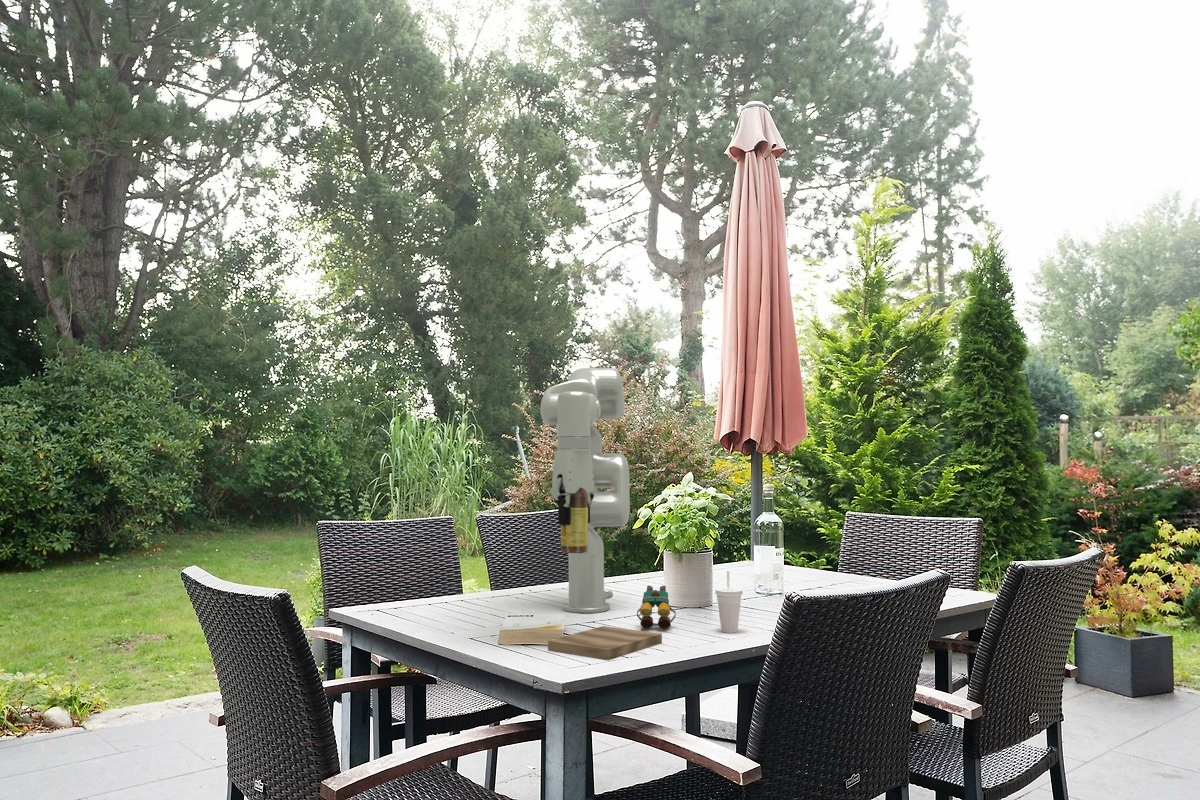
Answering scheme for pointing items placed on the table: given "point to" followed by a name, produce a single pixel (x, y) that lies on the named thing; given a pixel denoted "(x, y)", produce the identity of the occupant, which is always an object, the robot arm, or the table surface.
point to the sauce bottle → (576, 524)
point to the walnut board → (605, 642)
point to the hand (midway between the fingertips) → (574, 523)
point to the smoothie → (729, 607)
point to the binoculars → (664, 608)
